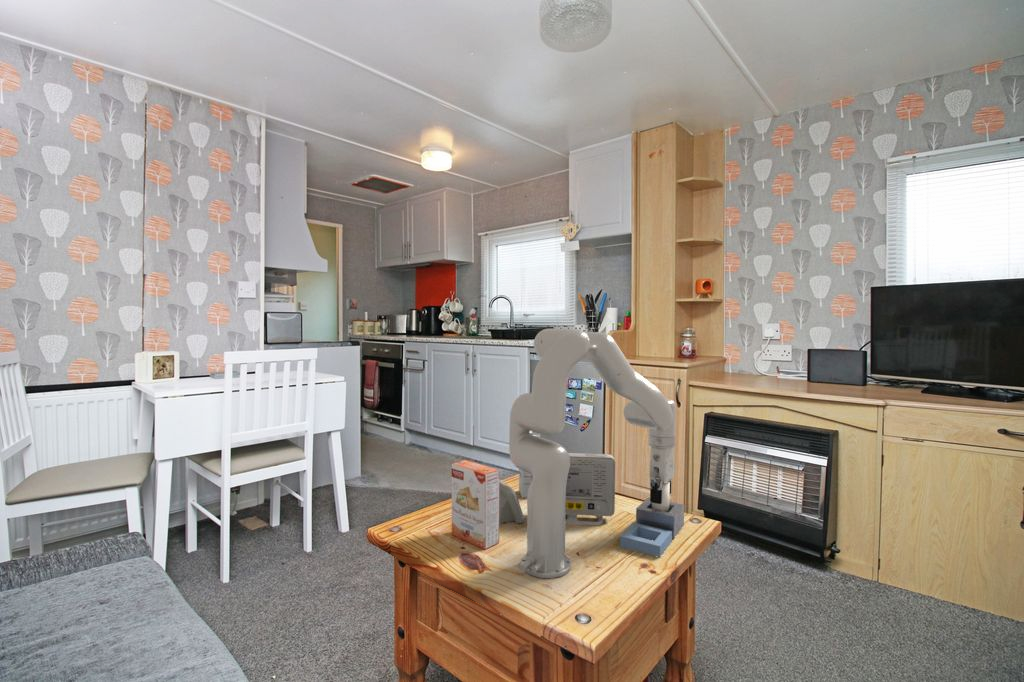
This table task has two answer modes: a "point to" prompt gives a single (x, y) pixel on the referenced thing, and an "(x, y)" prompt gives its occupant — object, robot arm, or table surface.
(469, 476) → the cracker box
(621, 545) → the lower socket
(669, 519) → the upper socket
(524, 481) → the supplement box
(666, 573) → the table surface
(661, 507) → the plug
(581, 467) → the network device
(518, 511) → the digital clock
